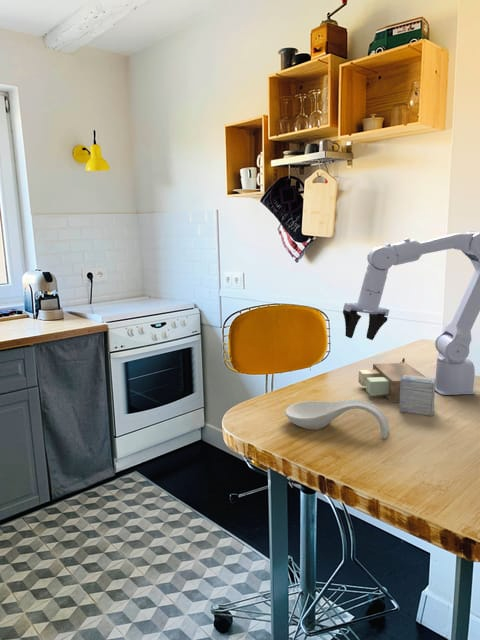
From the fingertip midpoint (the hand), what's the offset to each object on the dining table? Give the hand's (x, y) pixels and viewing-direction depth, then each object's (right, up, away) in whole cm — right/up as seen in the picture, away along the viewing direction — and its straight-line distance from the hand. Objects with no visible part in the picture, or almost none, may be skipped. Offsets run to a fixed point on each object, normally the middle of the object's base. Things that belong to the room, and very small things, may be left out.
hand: (359, 338), depth 137 cm
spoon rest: (-11, -20, -23) cm, 32 cm away
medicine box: (+11, -18, -14) cm, 25 cm away
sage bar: (+6, -14, -3) cm, 16 cm away
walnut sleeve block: (+11, -15, +1) cm, 19 cm away
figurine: (+16, -12, +15) cm, 26 cm away
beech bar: (+6, -13, +4) cm, 15 cm away
